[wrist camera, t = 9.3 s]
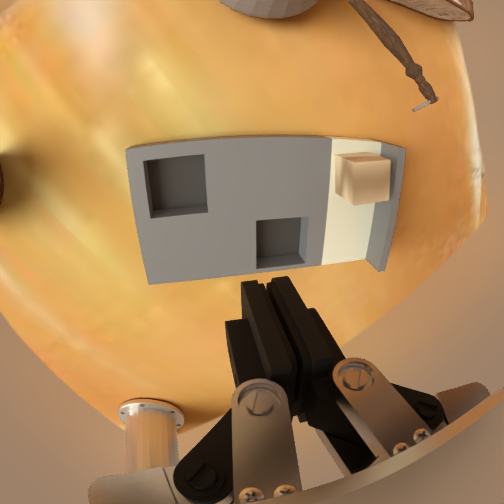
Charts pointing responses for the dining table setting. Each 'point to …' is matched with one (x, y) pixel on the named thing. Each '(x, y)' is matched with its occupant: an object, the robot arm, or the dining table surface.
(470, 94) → the dining table surface
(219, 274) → the board
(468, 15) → the tin
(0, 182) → the food container
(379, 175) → the block
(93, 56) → the dining table surface
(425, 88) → the coffee pot
